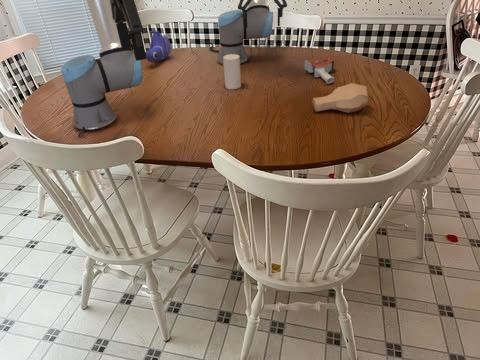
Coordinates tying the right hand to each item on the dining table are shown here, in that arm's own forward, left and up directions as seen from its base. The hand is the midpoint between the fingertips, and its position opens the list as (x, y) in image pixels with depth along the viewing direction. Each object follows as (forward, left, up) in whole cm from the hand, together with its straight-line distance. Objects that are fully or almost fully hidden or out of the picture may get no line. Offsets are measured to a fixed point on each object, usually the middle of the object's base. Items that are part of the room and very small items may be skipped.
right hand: (262, 26), depth 151 cm
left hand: (+61, -39, +9) cm, 73 cm away
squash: (+39, +25, -22) cm, 52 cm away
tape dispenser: (+3, +26, -22) cm, 34 cm away
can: (+10, -14, -22) cm, 28 cm away
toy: (-30, -53, -22) cm, 65 cm away
